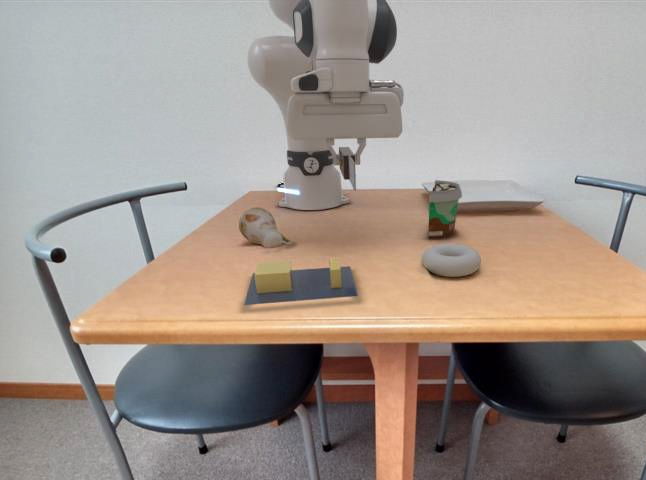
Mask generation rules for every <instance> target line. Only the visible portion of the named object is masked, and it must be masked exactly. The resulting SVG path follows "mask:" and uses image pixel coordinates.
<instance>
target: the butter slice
mask: <svg viewBox="0 0 646 480" xmlns="http://www.w3.org/2000/svg"><path fill="white" fill-rule="evenodd" d="M328 261H329V268H330V277H331V288H341V270H340V267H341V264H340V258H339V257H329V259H328Z"/></svg>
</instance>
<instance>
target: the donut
mask: <svg viewBox="0 0 646 480" xmlns="http://www.w3.org/2000/svg"><path fill="white" fill-rule="evenodd" d="M421 263H422V266H423V267H424V268H425V269H426V271H428V272H430V273H431V274H433V275H437V276H439V277H447V278H459V277H465V276H469V275H472V274H474V273H475V272H477V271H478V269H479V268H480V266H481V263H482V258H481V255H480V253H479V252H478V251H477V250H476V249H475V248H473V247H470V246H468V245H464V244H459V243H440V244H435V245H432V246H430V247H428V248H427V249H425V250H424V251H423V253H422V256H421Z"/></svg>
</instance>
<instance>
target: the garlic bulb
mask: <svg viewBox="0 0 646 480" xmlns="http://www.w3.org/2000/svg"><path fill="white" fill-rule="evenodd" d="M277 225H278V224H277V222H276V219H275V217H274V215H273V214H272V212H270V211H269V210H267V209H265V208H263V207H260V206H259V207H257V206H256V207H251V208H248V209H246V210H245V211H244V212H243V213H242V214H241V216H240V218H239V221H238V230H239V232H240V234H241V236H243V237H244V239H246V241H248V242H250V243H253V244H257V245H261V246H262V247H264V248H265V249H273V248H276V247H280V246H281V245H282V246H283V245H293V242H292V241H291V240H290V239H289V238H287V237H286V236H285V235H284V234H282V233H281V232H280V231H278V227H277Z"/></svg>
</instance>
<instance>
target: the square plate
mask: <svg viewBox="0 0 646 480" xmlns="http://www.w3.org/2000/svg"><path fill="white" fill-rule="evenodd" d="M448 181H449V182H454V183H457V184H459V185H460V188H461V193H462V197H461V198H460V199H458V207H457V213H459V214H460V213H462V214H463V213H488V212H489V213H490V212H491V213H493V212H496V213H497V212H516V211H520V210H528V209H529V210H530V209H533V208H536V207H538V206H541V204H543V203H545V202H546V200H545V199H544V198H543V197H541V196H540V195H538V194H537V193H535V192H534V191H532V190H531V189H529V188H527V187H526V186H524V185H522V184H520V183H518V182H517V181H514V180H511V179H508V180H507V179H506V180H499V179H496V180H493V179H481V180H480V179H476V180H475V179H471V180H470V179H469V180H467V179H465V180H448ZM421 185H422V187H423V188H424V190H425V191H426V193H427V194H428V195H429V191H432V190H433V188H434V187H435V181H425V182H421Z"/></svg>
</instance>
